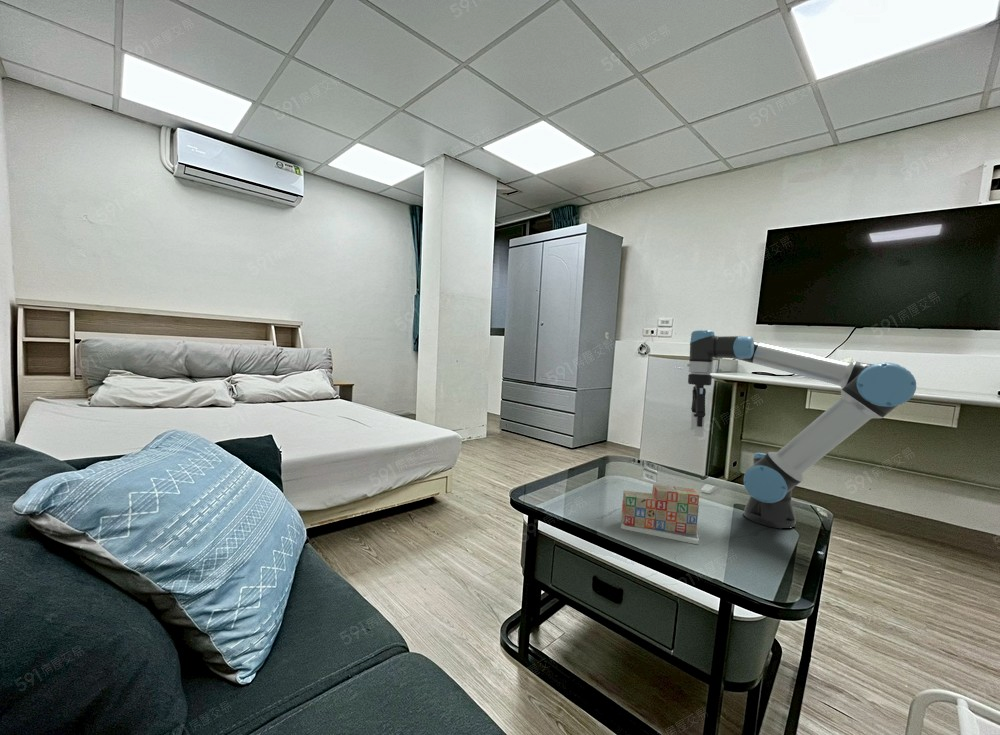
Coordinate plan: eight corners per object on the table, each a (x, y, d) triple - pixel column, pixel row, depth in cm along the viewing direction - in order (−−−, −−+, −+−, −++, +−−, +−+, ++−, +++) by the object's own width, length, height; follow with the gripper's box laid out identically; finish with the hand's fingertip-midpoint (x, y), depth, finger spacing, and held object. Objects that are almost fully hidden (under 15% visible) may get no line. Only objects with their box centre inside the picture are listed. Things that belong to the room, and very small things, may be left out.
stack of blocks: (623, 525, 126) (626, 486, 126) (621, 517, 132) (623, 480, 132) (696, 534, 122) (699, 494, 122) (691, 526, 128) (693, 488, 128)
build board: (696, 531, 128) (696, 527, 127) (698, 544, 118) (698, 540, 118) (624, 517, 136) (624, 513, 136) (620, 528, 127) (621, 524, 127)
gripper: (685, 372, 157) (682, 427, 158) (691, 373, 134) (687, 437, 134) (707, 373, 155) (704, 429, 155) (717, 375, 131) (713, 439, 132)
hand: (696, 433), depth 145 cm, fingers open, 13 cm apart
